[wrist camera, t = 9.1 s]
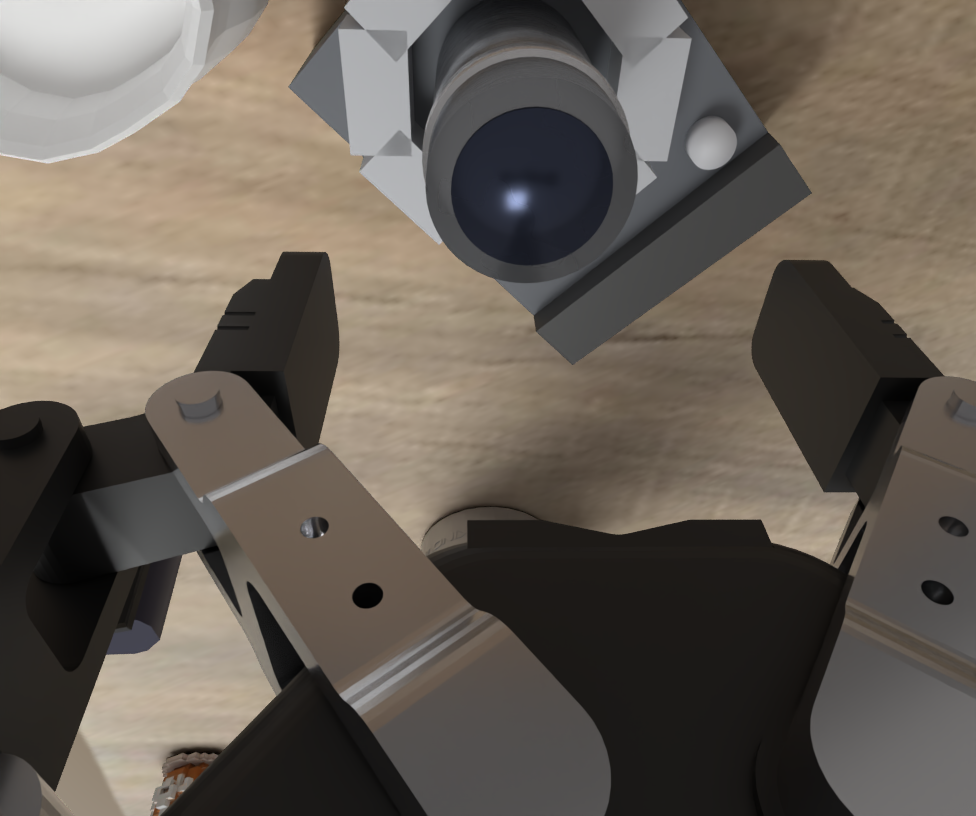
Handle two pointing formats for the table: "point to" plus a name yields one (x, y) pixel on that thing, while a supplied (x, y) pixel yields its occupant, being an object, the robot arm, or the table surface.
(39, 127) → the cup
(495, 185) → the lens
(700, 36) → the camera body
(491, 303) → the table surface
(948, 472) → the robot arm
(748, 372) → the table surface
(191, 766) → the decorative ornament
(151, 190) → the table surface
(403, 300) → the table surface
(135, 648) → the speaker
